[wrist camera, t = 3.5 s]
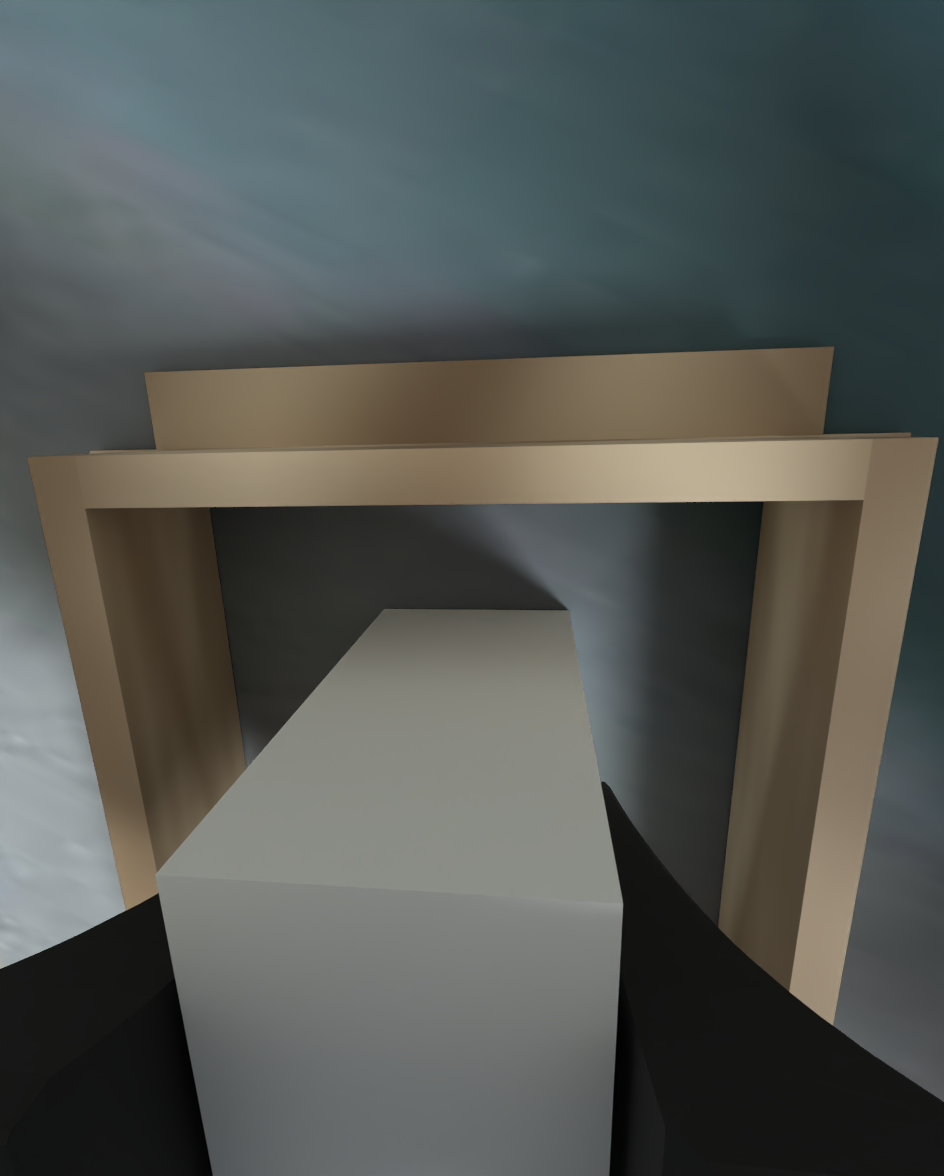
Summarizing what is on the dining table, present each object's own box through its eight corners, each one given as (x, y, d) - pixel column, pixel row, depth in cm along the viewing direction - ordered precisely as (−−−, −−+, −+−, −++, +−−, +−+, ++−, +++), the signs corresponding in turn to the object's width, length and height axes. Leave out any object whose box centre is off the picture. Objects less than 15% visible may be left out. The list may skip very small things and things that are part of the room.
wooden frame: (915, 345, 10) (1096, 306, 7) (798, 1062, 15) (874, 1247, 12) (85, 376, 12) (-87, 356, 9) (203, 1011, 17) (119, 1159, 13)
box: (571, 610, 12) (631, 907, 5) (565, 888, 14) (600, 1441, 6) (382, 608, 13) (146, 878, 5) (399, 879, 15) (245, 1386, 7)
